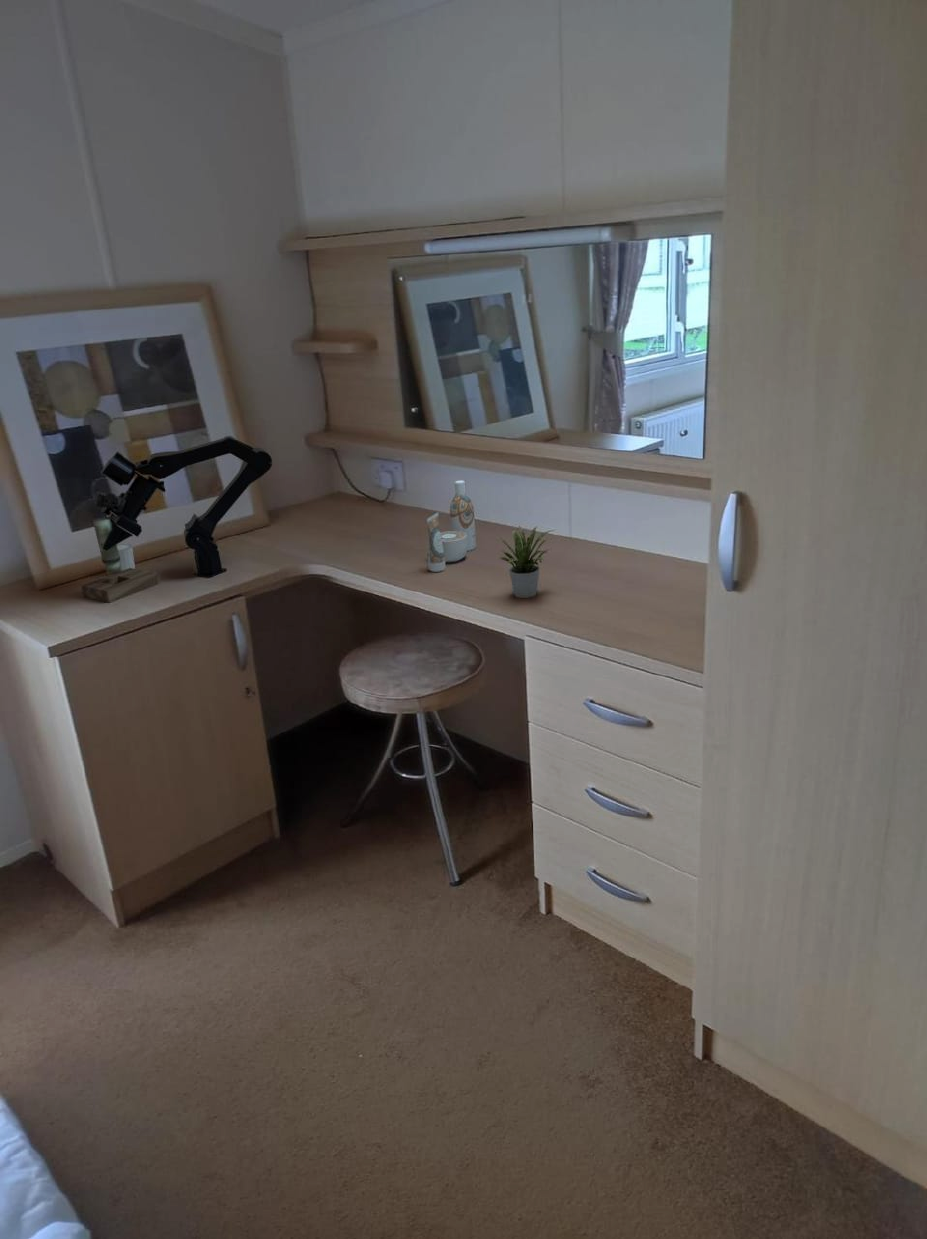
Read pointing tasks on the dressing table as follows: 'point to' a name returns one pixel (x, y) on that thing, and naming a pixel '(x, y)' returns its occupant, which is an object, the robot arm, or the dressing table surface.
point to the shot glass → (126, 556)
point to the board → (119, 585)
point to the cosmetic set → (452, 532)
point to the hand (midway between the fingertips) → (102, 547)
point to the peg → (108, 556)
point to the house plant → (524, 564)
